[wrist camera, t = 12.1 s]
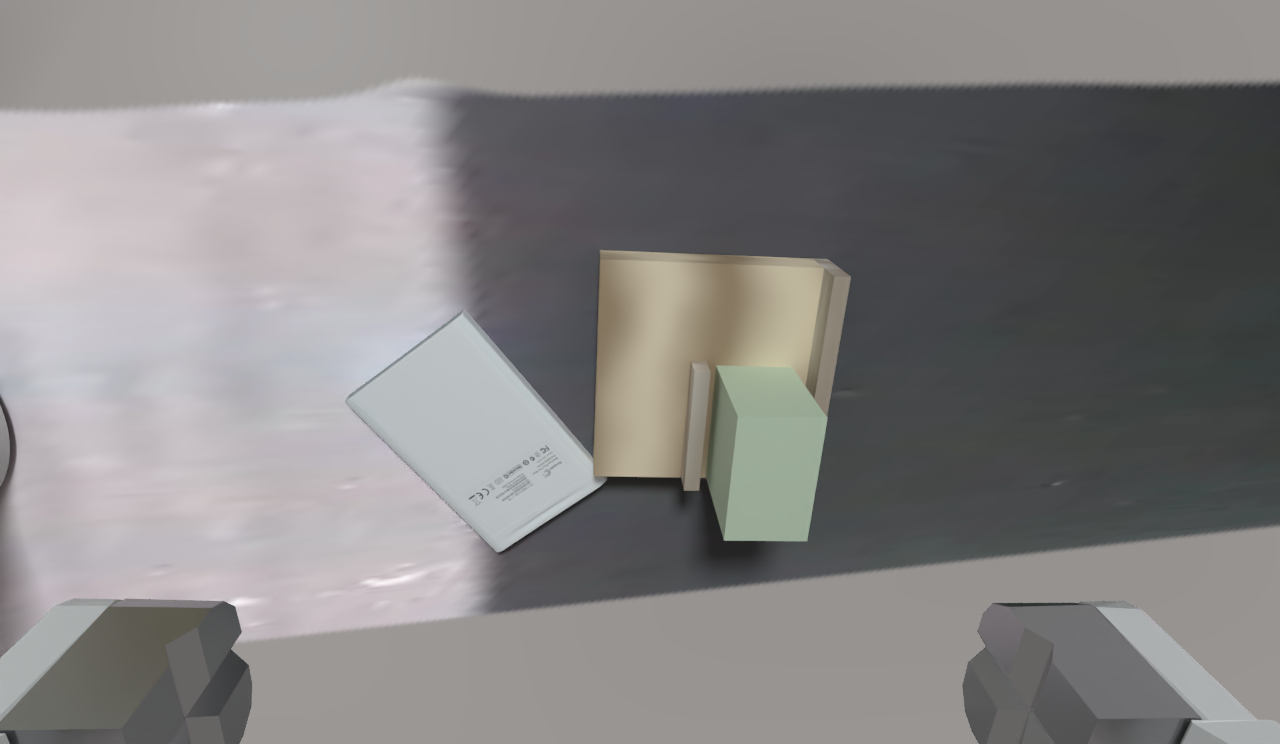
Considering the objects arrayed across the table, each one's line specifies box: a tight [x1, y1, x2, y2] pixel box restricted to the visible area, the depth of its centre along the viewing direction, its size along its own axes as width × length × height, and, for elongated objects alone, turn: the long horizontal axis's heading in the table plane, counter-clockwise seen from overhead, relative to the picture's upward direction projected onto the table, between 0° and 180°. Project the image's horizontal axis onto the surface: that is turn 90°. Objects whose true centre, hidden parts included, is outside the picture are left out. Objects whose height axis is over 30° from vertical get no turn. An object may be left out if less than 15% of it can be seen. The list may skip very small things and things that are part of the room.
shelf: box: [593, 250, 851, 491], centre depth 36 cm, size 12×12×4 cm
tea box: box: [705, 366, 828, 541], centre depth 35 cm, size 4×6×6 cm, turn 177°
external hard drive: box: [345, 310, 607, 553], centre depth 39 cm, size 2×8×12 cm
